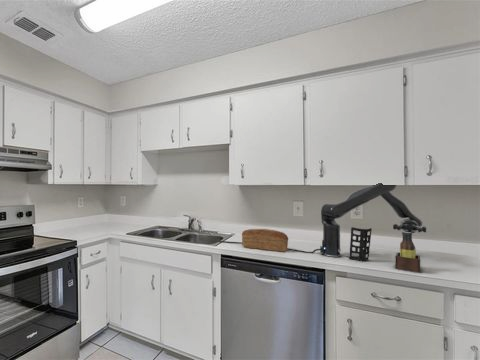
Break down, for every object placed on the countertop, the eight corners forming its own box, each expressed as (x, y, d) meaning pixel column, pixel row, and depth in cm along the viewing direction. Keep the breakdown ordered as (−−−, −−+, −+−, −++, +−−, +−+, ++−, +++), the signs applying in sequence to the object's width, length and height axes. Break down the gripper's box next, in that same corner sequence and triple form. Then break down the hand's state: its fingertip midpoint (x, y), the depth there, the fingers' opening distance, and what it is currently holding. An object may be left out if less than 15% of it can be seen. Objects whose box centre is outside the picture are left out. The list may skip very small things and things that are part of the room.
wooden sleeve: (395, 268, 144) (395, 255, 144) (396, 264, 152) (396, 252, 152) (420, 273, 137) (420, 259, 138) (420, 268, 145) (420, 255, 145)
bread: (243, 244, 200) (243, 226, 200) (288, 249, 185) (288, 230, 185) (240, 247, 189) (240, 228, 190) (287, 253, 175) (287, 232, 175)
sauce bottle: (419, 270, 141) (419, 233, 141) (405, 270, 142) (405, 233, 142) (409, 267, 147) (409, 231, 148) (397, 266, 148) (397, 231, 149)
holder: (363, 257, 165) (365, 226, 163) (373, 262, 158) (376, 229, 156) (346, 257, 165) (348, 226, 163) (355, 262, 157) (357, 229, 155)
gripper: (394, 219, 169) (392, 221, 158) (426, 221, 159) (426, 224, 148) (394, 230, 169) (392, 234, 158) (426, 233, 159) (426, 237, 147)
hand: (408, 229), depth 153 cm, fingers open, 8 cm apart
